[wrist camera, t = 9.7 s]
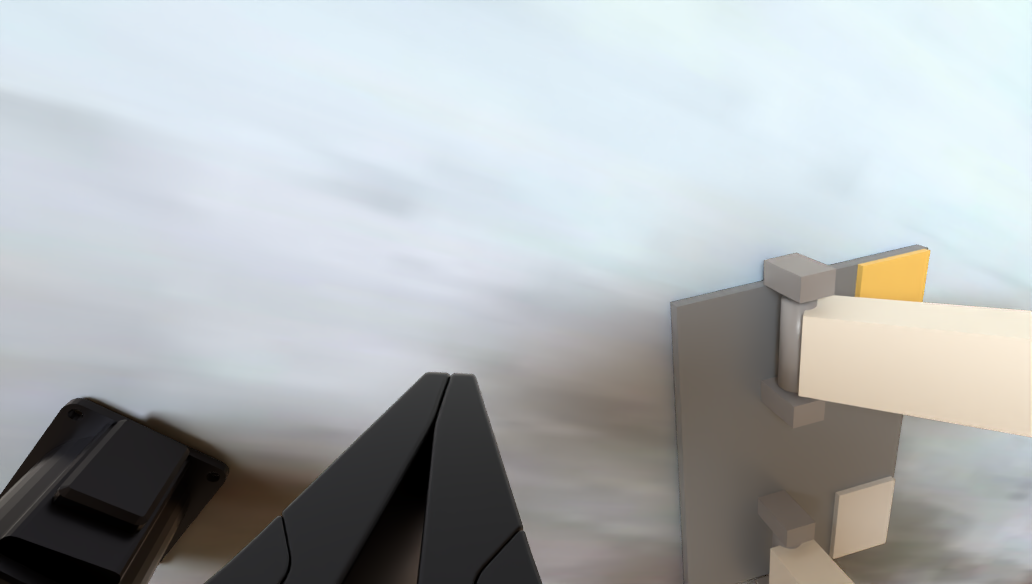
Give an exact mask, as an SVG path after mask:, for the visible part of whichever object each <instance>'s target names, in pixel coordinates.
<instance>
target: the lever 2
mask: <svg viewBox="0 0 1032 584" xmlns="http://www.w3.org/2000/svg"><path fill="white" fill-rule="evenodd" d="M778 385H779V386H780V387H781V388H782V389H784V390H786V391H789V392H794V393H799V394H798V396H802V397H808V398H813V399H819V400H824V401H830V402H836V403H841V404H847V405H853V406H858V407H864V408H869V409H875V410H881V411H886V412H892V413H898V414H903V415H909V416H915V417H920V418H926V419H931V420H937V421H943V422H948V423H954V424H960V425H965V426H971V427H976V428H982V429H988V430H993V431H999V432H1005V433H1010V434H1016V435H1021V436H1027V437H1032V311H1027V310H1015V309H1002V308H989V307H977V306H964V305H951V304H938V303H926V302H913V301H900V300H888V299H875V298H862V297H849V296H837V295H833V296H829V297H825V298H821V299H817V300H812V301H808V302H804V303H798V302H796V301H794V300H792V299H790V298H788V297H786V296H785V295H784V296H783V297H782V298H781V317H780V342H779V367H778Z"/></svg>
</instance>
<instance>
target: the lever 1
mask: <svg viewBox="0 0 1032 584" xmlns="http://www.w3.org/2000/svg"><path fill="white" fill-rule="evenodd" d="M769 584H854V583H853V581H852V580H851V579H850V578H849V577H848V576H847V575H846V574H845V573H844V572H843V571H842V569H841V568H840V567H839V566H838V565H837V564H836V563H835V562H834V561H833V560H832V559H831V558H830V556H829V555H828V554H827V553H826V552H825V551H824V550H823V549H822V548H821V547H820V546H819V544H818V543H817V542H816V541H815V540H811V541H808V542H804V543H801V544H798V545H794V546H791V547H788V548H786V547H785V546H784V544H783V543H782V542H781V541H780V540H779V539H778V537H777V536H776V535H775V534H774V533H773V536H772V548H770V572H769Z"/></svg>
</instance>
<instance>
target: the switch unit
mask: <svg viewBox="0 0 1032 584" xmlns="http://www.w3.org/2000/svg"><path fill="white" fill-rule="evenodd" d="M929 256H930V250H928V248H927V247H923V246H920V245H913V246H909V247H904V248H900V249H896V250H892V251H887V252H883V253H879V254H874V255H870V256H866V257H862V258H857V259H853V260H849V261H844V262H840V263H836V264H832V265H826V264H823V263H821V262H818V261H816V260H813V259H811V258H808V257H806V256H803V255H801V254H798V253H793V254H789V255H784V256H780V257H775V258H771V259H767V260H764V280H763V281H759V282H754V283H750V284H746V285H742V286H737V287H733V288H729V289H724V290H720V291H716V292H712V293H707V294H703V295H699V296H694V297H690V298H686V299H682V300H677V301H673V302H670V305H671V325H672V346H673V367H674V387H675V408H676V428H677V449H678V470H679V490H680V511H681V532H682V552H683V573H684V584H738V583H741V582H745V581H748V580H751V579H754V578H757V577H761V576H764V575H767V574H769V572H770V548H772V536H773V533H774V534H775V535H776V536H777V537H778V539H779V540H780V541H781V542H782V543H783V544H784V546H785V547H786V548H788V547H791V546H794V545H798V544H801V543H804V542H808V541H811V540H815V541H816V542H817V543H818V544H819V546H820V547H821V548H822V549H823V550H824V551H825V552H826V553H827V554H828V555H830V557H831V558H832V559H836V558H839V557H842V556H845V555H848V554H852V553H855V552H858V551H861V550H864V549H868V548H871V547H874V546H877V545H881V544H884V543H886V537H887V530H888V524H889V517H890V510H891V504H892V497H893V491H894V484H895V479H894V478H893V477H894V470H895V464H896V457H897V451H898V444H899V437H900V431H901V424H902V418H903V414H898V413H892V412H886V411H881V410H875V409H869V408H864V407H858V406H853V405H847V404H841V403H836V402H830V401H824V400H819V399H813V398H808V397H802V396H798V394H799V393H794V392H789V391H786V390H784V389H782V388H781V387H780V386H779V385H778V367H779V342H780V317H781V298H782V297H783V296H784V295H785V296H786V297H788V298H790V299H792V300H794V301H796V302H798V303H804V302H808V301H812V300H817V299H821V298H825V297H829V296H833V295H837V296H849V297H862V298H875V299H888V300H900V301H913V302H922V301H923V295H924V288H925V282H926V275H927V269H928V262H929ZM756 584H769V575H768V576H764V577H761V578H758V579H756Z"/></svg>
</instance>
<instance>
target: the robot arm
mask: <svg viewBox="0 0 1032 584" xmlns="http://www.w3.org/2000/svg"><path fill="white" fill-rule="evenodd" d="M74 409H76V410H79V411H81V412H82V413H83V415H80V414H77V413H76V412H75V411H74ZM210 472H216V473H217V474H219V475H218V476H215V475H212V474H211V473H210ZM228 473H229V468H228V467H227V465H226V464H224V463H223V462H221V461H218V460H216V459H214V458H212V457H210V456H208V455H205V454H203V453H201V452H199V451H197V450H195V449H193V448H190V447H188V446H186V445H184V444H182V443H180V442H178V441H175V440H173V439H171V438H169V437H167V436H165V435H162V434H160V433H158V432H156V431H154V430H152V429H150V428H147V427H145V426H143V425H141V424H139V423H137V422H134V421H132V420H130V419H128V418H126V417H124V416H122V415H119V414H117V413H115V412H113V411H111V410H109V409H106V408H104V407H102V406H100V405H98V404H96V403H94V402H91V401H89V400H87V399H83V398H76V399H73V400H71V401H70V402H69V403H67V404H66V405H65V406H64V407H63V408H62V409H61V410H60V412H59V413H58V414H57V416H56V417H55V419H54V420H53V421H52V423H51V424H50V426H49V427H48V428H47V430H46V431H45V433H44V434H43V435H42V437H41V438H40V440H39V441H38V442H37V444H36V445H35V447H34V448H33V450H32V451H31V452H30V454H29V455H28V457H27V458H26V459H25V461H24V462H23V464H22V465H21V466H20V468H19V469H18V471H17V472H16V473H15V475H14V476H13V478H12V479H11V480H10V482H9V483H8V485H7V486H6V487H5V489H4V490H3V492H2V493H1V494H0V584H148V582H149V581H150V579H151V577H152V575H153V573H154V571H155V569H156V568H157V566H158V564H159V563H160V562H161V561H162V559H163V558H164V557H165V556H166V554H167V553H168V552H169V551H170V549H171V548H172V547H173V546H174V544H175V543H176V542H177V541H178V539H179V538H180V537H181V536H182V534H183V533H184V532H185V531H186V529H187V528H188V527H189V526H190V524H191V523H192V522H193V521H194V519H195V518H196V517H197V516H198V514H199V513H200V512H201V511H202V509H203V508H204V507H205V506H206V504H207V503H208V502H209V501H210V499H211V498H212V497H213V496H214V494H215V493H216V492H217V491H218V489H219V488H220V487H221V486H222V484H223V483H224V482H225V480H226V477H227V475H228ZM204 584H542V581H541V579H540V576H539V573H538V570H537V567H536V565H535V562H534V559H533V556H532V553H531V550H530V547H529V544H528V541H527V537H526V534H525V532H524V531H523V525H522V522H521V519H520V516H519V513H518V510H517V506H516V503H515V500H514V497H513V494H512V490H511V487H510V484H509V481H508V478H507V475H506V471H505V468H504V465H503V462H502V459H501V455H500V452H499V449H498V446H497V443H496V440H495V436H494V433H493V430H492V427H491V424H490V420H489V417H488V414H487V411H486V408H485V405H484V401H483V398H482V395H481V392H480V389H479V386H478V382H477V379H476V377H475V375H473V374H462V373H454V374H452V375H451V376H450V375H449V374H448V373H441V372H427V373H425V374H424V375H423V376H422V377H421V378H420V379H419V380H418V381H417V382H416V383H415V384H414V385H413V386H412V387H410V388H409V389H408V390H407V391H406V392H405V393H404V394H403V395H402V396H401V397H400V398H399V399H398V400H397V401H396V402H395V403H394V404H393V405H392V406H391V407H390V408H389V409H388V410H387V411H386V412H385V413H384V414H383V415H382V416H381V417H380V418H379V419H377V420H376V421H375V422H374V423H373V424H372V425H371V426H370V427H369V428H368V429H367V430H366V431H365V432H364V433H363V434H362V435H361V436H360V437H359V438H358V439H357V440H356V441H355V442H354V443H353V444H352V445H351V446H350V447H349V448H348V449H347V450H346V451H344V452H343V453H342V454H341V455H340V456H339V457H338V458H337V459H336V460H335V461H334V462H333V463H332V464H331V465H330V466H329V467H328V468H327V469H326V470H325V471H324V472H323V473H322V474H321V475H320V476H319V477H318V478H317V479H316V480H315V481H314V482H313V483H312V484H310V485H309V486H308V487H307V488H306V489H305V490H304V491H303V492H302V493H301V494H300V495H299V496H298V497H297V498H296V499H295V500H294V501H293V502H292V503H291V504H290V505H289V506H288V507H287V508H286V509H285V510H284V511H283V512H282V516H277V517H276V518H275V519H274V520H273V521H272V522H271V523H270V524H269V525H268V526H267V527H266V528H265V529H264V530H263V531H262V532H261V533H260V534H259V535H258V536H257V537H255V538H254V539H253V540H252V541H251V542H250V543H249V544H248V545H247V546H246V547H245V548H244V549H242V550H241V551H240V552H239V553H238V554H237V555H236V556H235V557H234V558H233V559H232V560H231V561H230V562H228V563H227V564H226V565H225V566H224V567H223V568H222V569H221V570H219V571H218V572H217V573H216V574H215V575H214V576H212V577H211V578H210V579H209V580H208V581H206V582H205V583H204Z"/></svg>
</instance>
